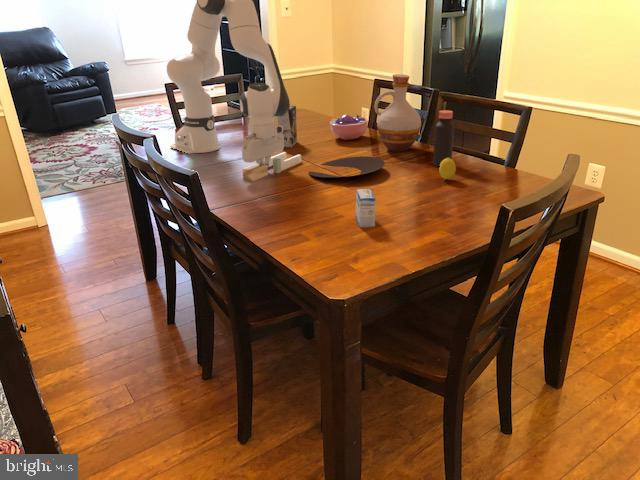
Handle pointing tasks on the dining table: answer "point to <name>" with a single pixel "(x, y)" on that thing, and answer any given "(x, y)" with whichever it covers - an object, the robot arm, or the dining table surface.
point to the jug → (398, 118)
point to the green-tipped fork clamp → (283, 162)
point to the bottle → (443, 137)
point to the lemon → (447, 168)
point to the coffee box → (289, 127)
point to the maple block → (255, 171)
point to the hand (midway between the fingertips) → (264, 168)
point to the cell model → (349, 126)
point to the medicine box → (365, 208)
